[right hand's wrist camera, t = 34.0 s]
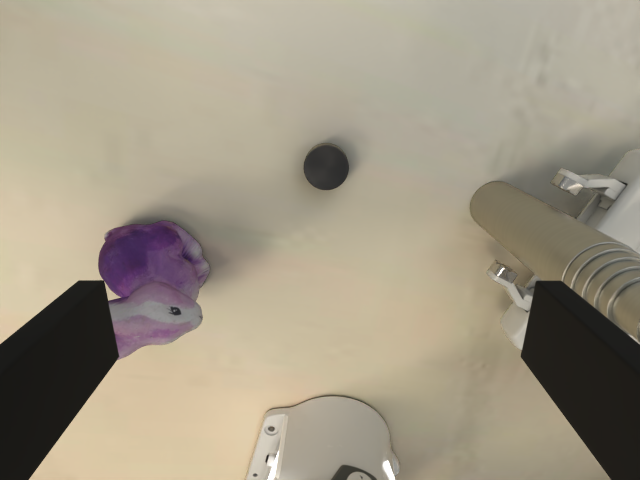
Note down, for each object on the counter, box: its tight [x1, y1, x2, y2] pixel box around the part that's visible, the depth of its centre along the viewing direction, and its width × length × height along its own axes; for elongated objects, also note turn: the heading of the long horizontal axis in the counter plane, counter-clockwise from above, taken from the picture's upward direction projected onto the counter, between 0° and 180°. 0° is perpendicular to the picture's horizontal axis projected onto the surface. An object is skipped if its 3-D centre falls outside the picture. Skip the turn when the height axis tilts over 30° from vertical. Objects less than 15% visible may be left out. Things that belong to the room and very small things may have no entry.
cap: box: [304, 143, 349, 190], centre depth 40 cm, size 4×4×2 cm
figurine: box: [98, 221, 210, 360], centre depth 37 cm, size 9×10×15 cm
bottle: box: [470, 181, 640, 343], centre depth 31 cm, size 5×5×24 cm
